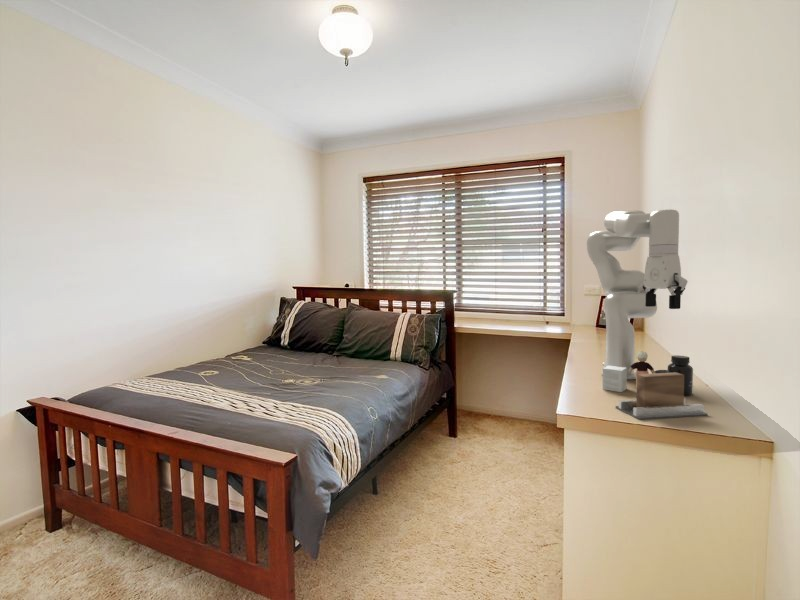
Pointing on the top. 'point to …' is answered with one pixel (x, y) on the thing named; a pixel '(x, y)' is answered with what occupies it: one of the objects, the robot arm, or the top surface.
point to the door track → (661, 410)
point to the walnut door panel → (660, 389)
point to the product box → (614, 378)
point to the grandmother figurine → (641, 365)
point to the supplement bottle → (682, 371)
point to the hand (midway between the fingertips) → (662, 307)
